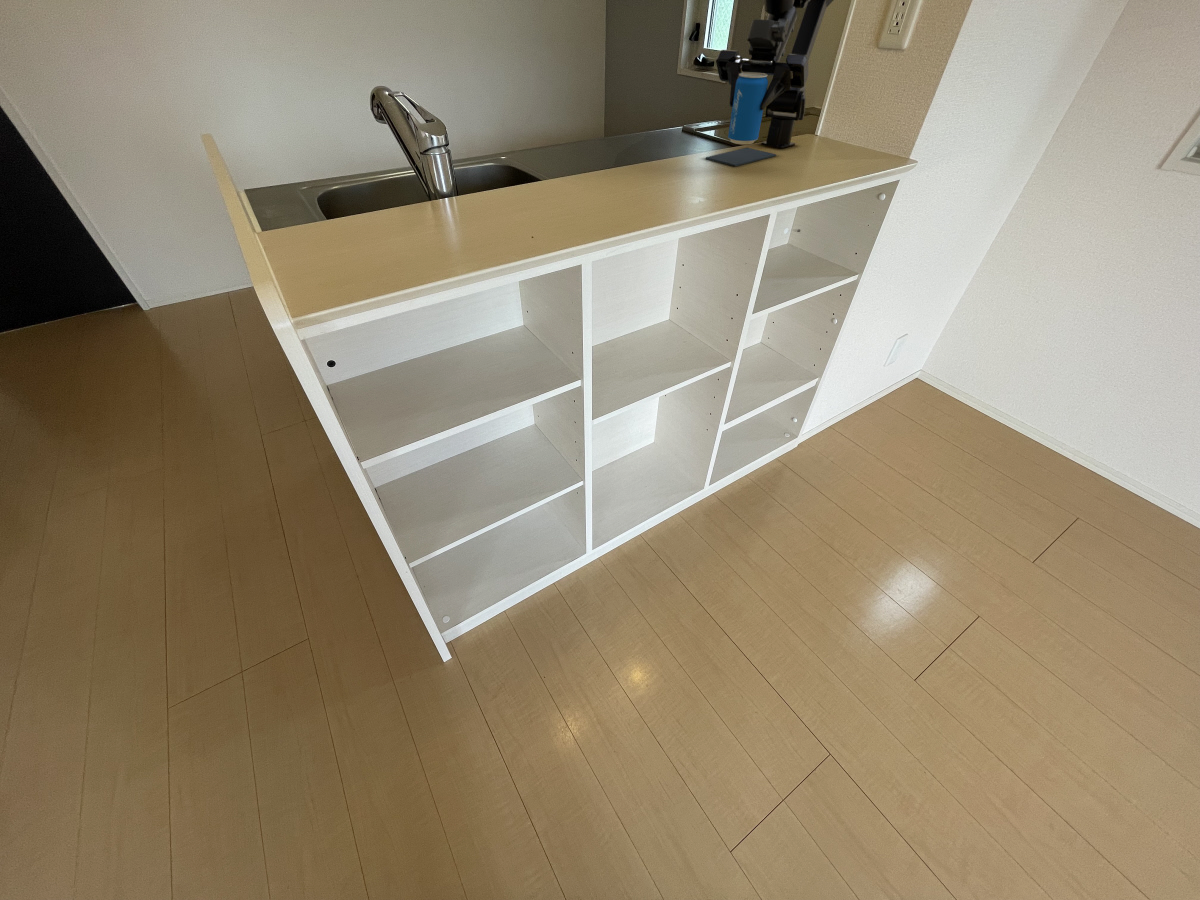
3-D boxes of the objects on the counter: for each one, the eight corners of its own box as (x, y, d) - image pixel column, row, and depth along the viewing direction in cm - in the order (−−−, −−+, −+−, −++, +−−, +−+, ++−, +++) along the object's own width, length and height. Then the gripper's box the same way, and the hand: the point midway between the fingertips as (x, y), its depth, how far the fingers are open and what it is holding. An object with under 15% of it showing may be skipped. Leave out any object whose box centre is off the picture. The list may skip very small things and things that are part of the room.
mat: (746, 149, 130) (747, 147, 130) (775, 156, 125) (776, 154, 125) (705, 159, 123) (705, 157, 123) (734, 166, 118) (735, 164, 118)
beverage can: (721, 140, 112) (730, 73, 104) (744, 136, 114) (755, 71, 106) (739, 146, 108) (750, 77, 100) (763, 143, 110) (776, 75, 102)
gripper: (727, -2, 101) (697, 73, 102) (821, 0, 94) (788, 81, 95) (734, 45, 112) (707, 112, 112) (820, 49, 104) (790, 122, 105)
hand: (745, 107), depth 106 cm, fingers closed on beverage can, 6 cm apart
